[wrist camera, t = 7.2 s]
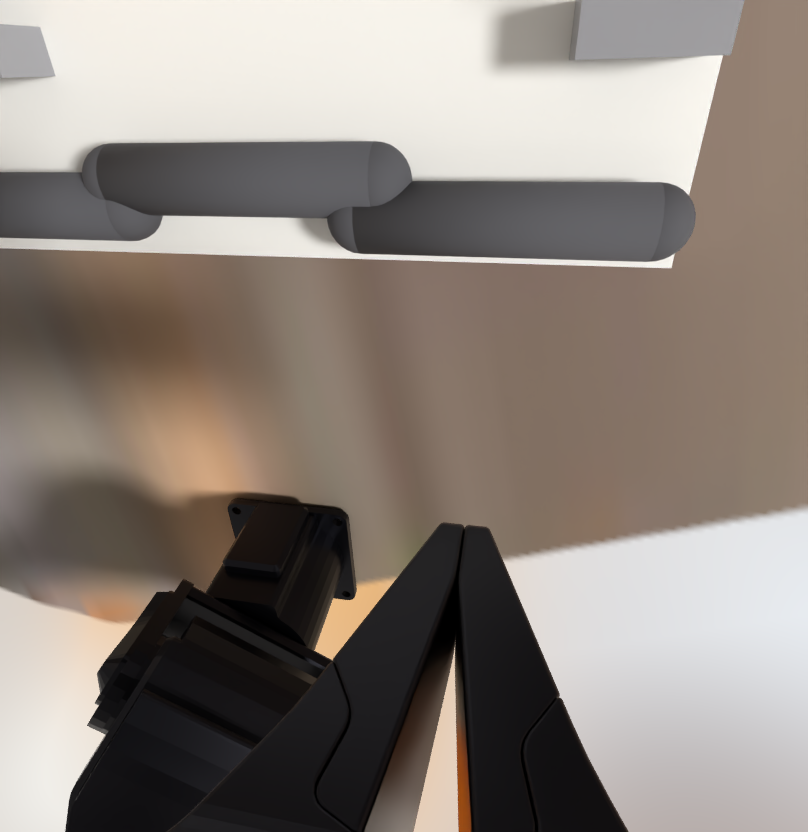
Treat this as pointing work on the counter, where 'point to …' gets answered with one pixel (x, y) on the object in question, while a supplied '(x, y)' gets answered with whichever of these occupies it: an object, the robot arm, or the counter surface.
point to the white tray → (364, 94)
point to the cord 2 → (345, 202)
